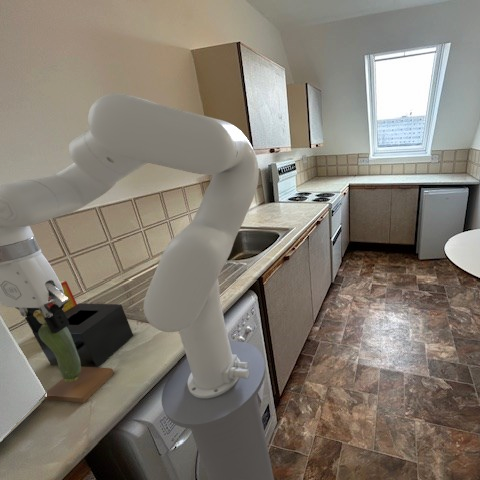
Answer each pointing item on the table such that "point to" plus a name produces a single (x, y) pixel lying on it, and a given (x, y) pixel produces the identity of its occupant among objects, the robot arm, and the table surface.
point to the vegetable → (60, 348)
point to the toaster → (94, 332)
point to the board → (80, 385)
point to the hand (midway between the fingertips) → (51, 327)
